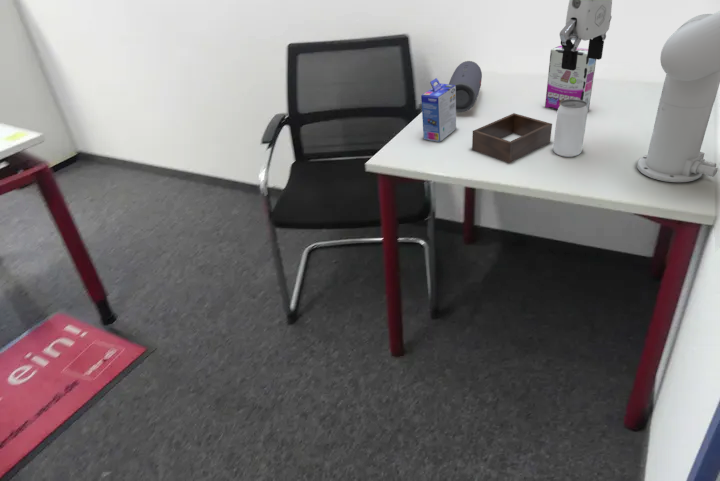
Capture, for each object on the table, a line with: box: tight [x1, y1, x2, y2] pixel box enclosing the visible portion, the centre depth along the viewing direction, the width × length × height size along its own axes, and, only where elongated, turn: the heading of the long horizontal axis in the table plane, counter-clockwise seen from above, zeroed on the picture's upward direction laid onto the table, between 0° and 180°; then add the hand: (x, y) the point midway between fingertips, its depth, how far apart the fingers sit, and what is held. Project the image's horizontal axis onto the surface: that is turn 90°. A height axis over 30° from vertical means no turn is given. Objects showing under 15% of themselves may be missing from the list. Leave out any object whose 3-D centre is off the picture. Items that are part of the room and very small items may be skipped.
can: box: [552, 99, 589, 158], centre depth 125 cm, size 6×6×12 cm
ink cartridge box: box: [420, 78, 457, 143], centre depth 140 cm, size 10×6×14 cm, turn 146°
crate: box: [471, 112, 553, 164], centre depth 132 cm, size 12×16×5 cm
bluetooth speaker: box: [448, 60, 483, 113], centre depth 159 cm, size 23×9×10 cm, turn 165°
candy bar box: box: [544, 45, 597, 111], centre depth 147 cm, size 11×5×16 cm, turn 42°
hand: (581, 63), depth 118 cm, fingers open, 9 cm apart
